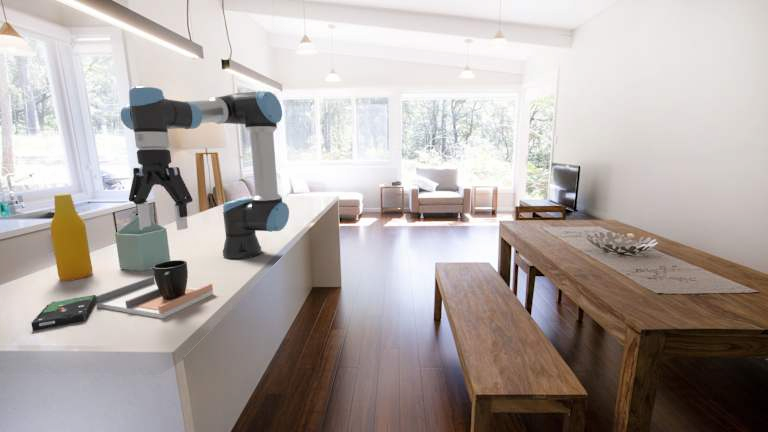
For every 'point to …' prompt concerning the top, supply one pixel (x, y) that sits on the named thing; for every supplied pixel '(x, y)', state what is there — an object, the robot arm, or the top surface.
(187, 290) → the slot rack
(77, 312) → the disk drive
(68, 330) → the top surface
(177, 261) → the mug
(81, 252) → the beer bottle
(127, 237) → the planter
